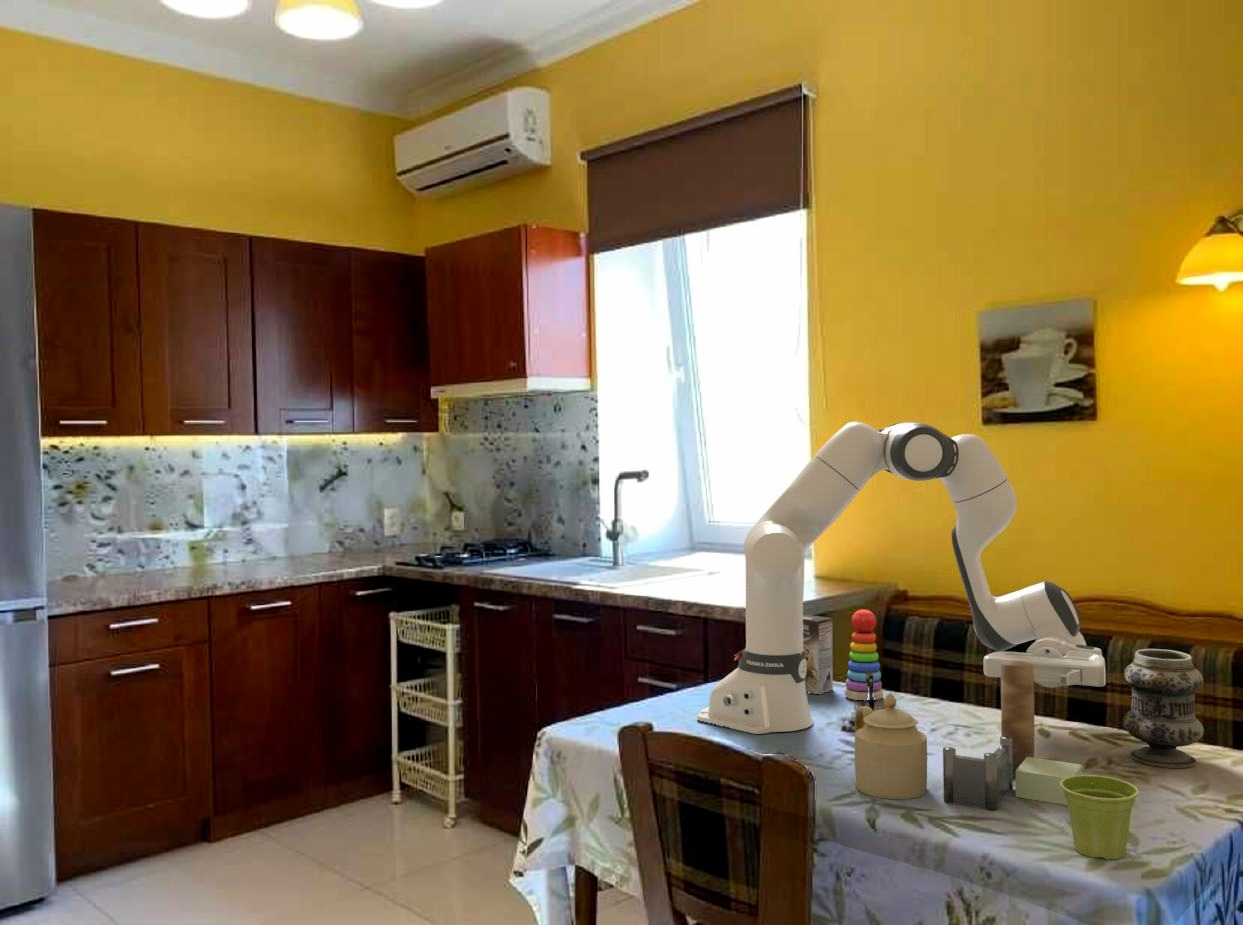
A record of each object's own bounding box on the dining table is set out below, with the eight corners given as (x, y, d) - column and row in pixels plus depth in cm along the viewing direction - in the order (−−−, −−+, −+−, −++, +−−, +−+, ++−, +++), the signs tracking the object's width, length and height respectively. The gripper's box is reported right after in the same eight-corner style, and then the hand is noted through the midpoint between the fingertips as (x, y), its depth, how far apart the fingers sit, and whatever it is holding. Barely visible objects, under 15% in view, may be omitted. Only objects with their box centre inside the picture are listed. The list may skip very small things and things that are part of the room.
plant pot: (1103, 871, 129) (1102, 803, 129) (1045, 845, 138) (1044, 780, 138) (1156, 858, 133) (1155, 791, 133) (1096, 833, 142) (1095, 770, 142)
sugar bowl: (821, 782, 165) (819, 689, 165) (861, 767, 172) (860, 677, 172) (901, 805, 154) (900, 705, 154) (941, 788, 161) (940, 692, 161)
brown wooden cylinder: (998, 776, 166) (997, 665, 166) (1005, 768, 170) (1004, 659, 170) (1031, 781, 163) (1030, 668, 163) (1037, 772, 168) (1036, 662, 167)
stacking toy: (884, 703, 214) (883, 613, 213) (844, 701, 215) (843, 612, 215) (882, 693, 221) (881, 607, 221) (844, 692, 223) (843, 606, 223)
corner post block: (942, 802, 155) (941, 749, 155) (963, 779, 165) (962, 730, 165) (995, 811, 151) (995, 757, 150) (1014, 788, 160) (1013, 737, 160)
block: (1015, 796, 157) (1015, 770, 156) (1027, 781, 163) (1026, 756, 163) (1072, 806, 152) (1072, 779, 152) (1081, 790, 159) (1081, 764, 159)
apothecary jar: (1204, 775, 165) (1203, 663, 165) (1121, 764, 171) (1120, 657, 171) (1203, 754, 175) (1203, 649, 175) (1125, 745, 181) (1124, 644, 181)
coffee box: (782, 689, 227) (781, 616, 227) (799, 684, 232) (798, 612, 231) (818, 695, 221) (817, 620, 221) (834, 690, 226) (833, 616, 225)
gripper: (992, 640, 194) (973, 654, 183) (1110, 649, 183) (1098, 664, 172) (993, 673, 194) (974, 689, 183) (1111, 684, 183) (1099, 702, 172)
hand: (1035, 677), depth 177 cm, fingers open, 8 cm apart
